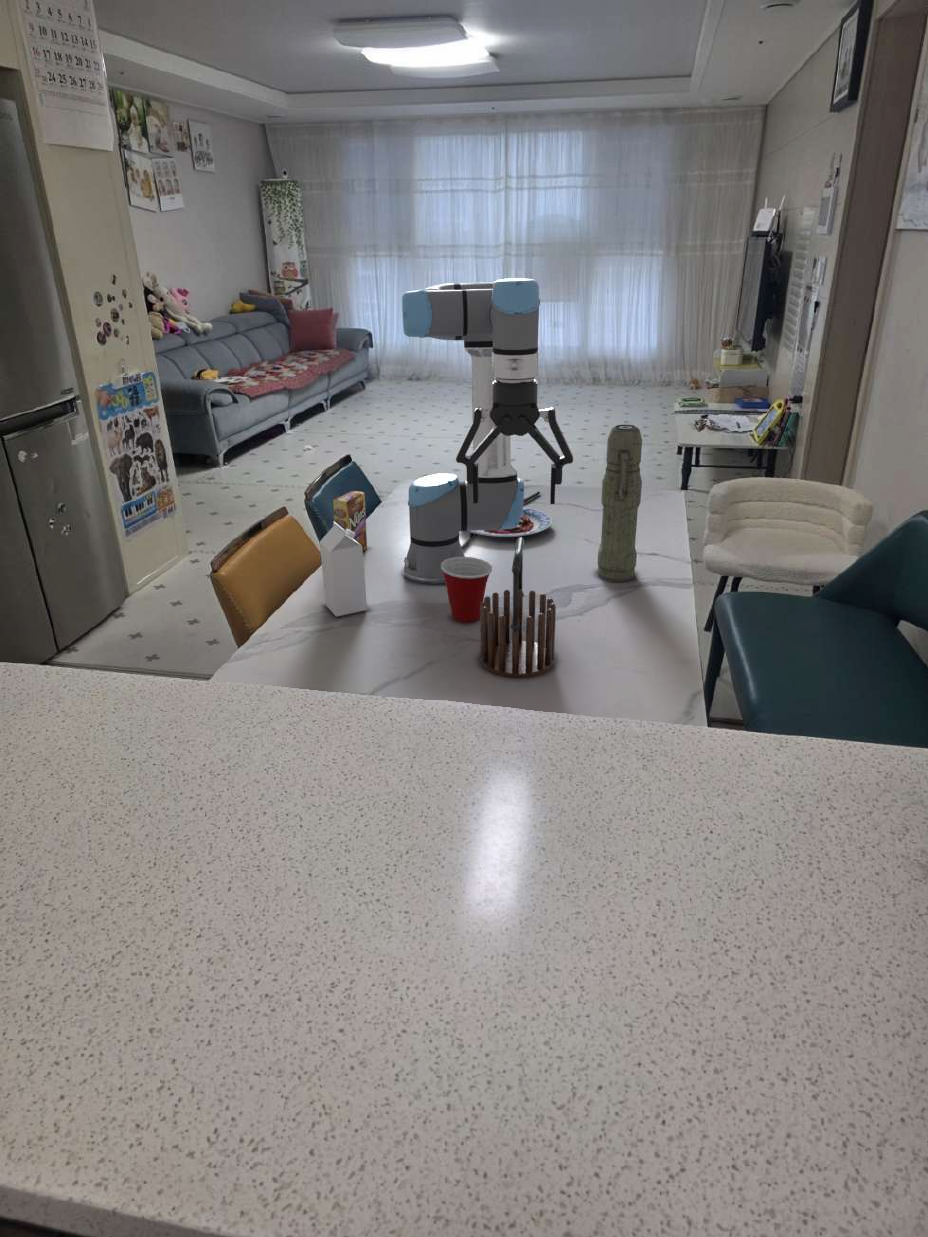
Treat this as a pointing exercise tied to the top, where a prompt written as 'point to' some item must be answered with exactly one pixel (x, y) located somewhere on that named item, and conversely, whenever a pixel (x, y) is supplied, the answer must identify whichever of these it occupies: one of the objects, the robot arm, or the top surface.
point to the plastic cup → (465, 586)
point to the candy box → (352, 515)
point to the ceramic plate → (522, 525)
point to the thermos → (620, 504)
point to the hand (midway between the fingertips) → (514, 501)
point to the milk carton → (343, 572)
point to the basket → (517, 630)
